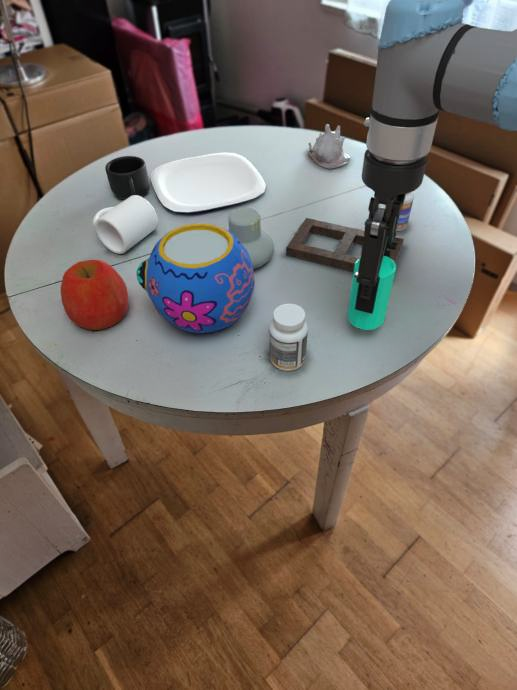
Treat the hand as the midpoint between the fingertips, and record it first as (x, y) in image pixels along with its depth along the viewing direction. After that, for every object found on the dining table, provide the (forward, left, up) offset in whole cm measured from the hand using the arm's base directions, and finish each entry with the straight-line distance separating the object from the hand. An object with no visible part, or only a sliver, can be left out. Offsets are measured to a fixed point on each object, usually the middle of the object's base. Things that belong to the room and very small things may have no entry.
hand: (369, 296), depth 73 cm
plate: (+47, -33, -8) cm, 58 cm away
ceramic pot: (+26, +7, -8) cm, 28 cm away
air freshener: (+26, -10, -8) cm, 29 cm away
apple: (+43, +14, -8) cm, 46 cm away
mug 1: (+61, -22, -8) cm, 66 cm away
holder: (+9, -20, -7) cm, 23 cm away
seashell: (+25, -56, -8) cm, 62 cm away
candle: (0, 0, -5) cm, 5 cm away
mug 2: (+53, -7, -8) cm, 54 cm away
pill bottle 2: (+2, -33, -8) cm, 34 cm away
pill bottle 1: (+9, +11, -8) cm, 16 cm away
